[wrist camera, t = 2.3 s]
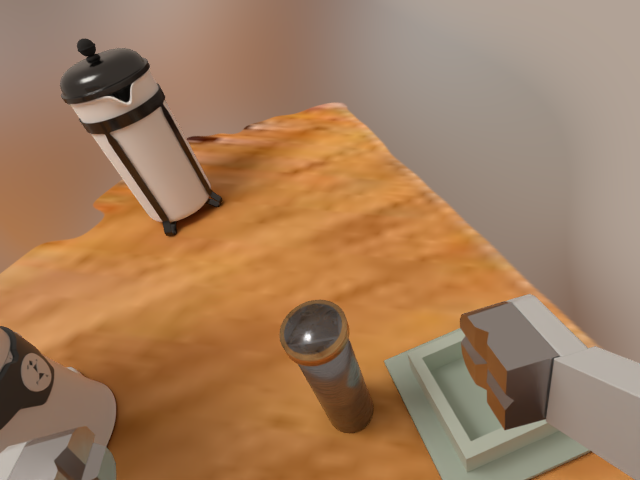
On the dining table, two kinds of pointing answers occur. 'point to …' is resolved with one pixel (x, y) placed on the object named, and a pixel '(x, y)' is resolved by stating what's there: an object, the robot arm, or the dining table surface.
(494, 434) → the green square tray
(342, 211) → the dining table surface
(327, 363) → the pin
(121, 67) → the coffee press
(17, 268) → the dining table surface
